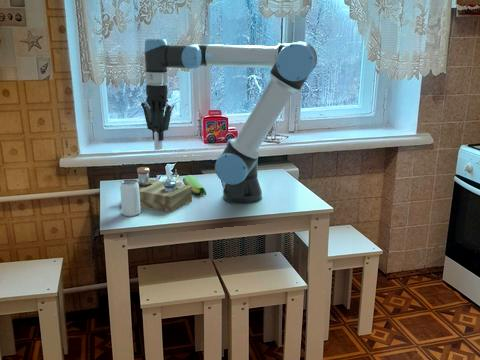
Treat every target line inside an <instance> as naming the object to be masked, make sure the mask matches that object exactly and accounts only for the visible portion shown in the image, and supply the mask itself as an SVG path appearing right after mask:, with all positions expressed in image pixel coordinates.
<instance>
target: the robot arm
mask: <svg viewBox="0 0 480 360" xmlns="http://www.w3.org/2000/svg"><path fill="white" fill-rule="evenodd" d="M143 53H144V65H145V66H144V67H145V83H146V85H145V93H146V99H145V101H143V102H141V103H140V107H141V109H143V110H142V111H143V114H144V118H145V123H146V127H147V130H150V131H151V132H152V140H153V141H154V142H153V143H154V150H155V151H159V150H162V149H163V141H164V138H165V137H164V132H165V131H168V130H169V127H170V121H171V116H172V111H173V109H175V108H174V107H175V106H174V104H171V103H170V102H169V100H168V85H167V83H168V68H173V69H176V68H177V69H178V68H179V69H188V70H191V69H198V68H200V66H202V67H228V68H229V67H232V68H252V69H253V68H256V69H257V68H258V69H271V70H270V71H269V76H270V80H269V82H268V84H267V85H266V87H265V89H264V90H263V93H262V94H261V95H260V97H259V99H258V101H257V103H256V104H255V105H254V107H253V109H252V111H251V113H250V114H249V115H248V118H247V119H246V121H245V122H244V124H243V126H242V127H241V130H240V131H239V133H238V135H237V136H236V137H235V138H234V137H233V138H230V139H227V141H226V147H225V148H224V150H223V152H222V153H221V154H220V155H219V156H218V157H217V159H216V161H215V163H214V164H215V165H214V169H215V175H216V176H217V178H218V179H219V180H220V181H221V182H223V183H224V184H225V186H224V188H223V191H222V193H223V194H222V198H223V199H224V200H225V201H228V202H230V203H235V204H236V203H237V204H249V203H254V202H257V201H260V200H261V199H262V197H263V194H262V193H263V192H262V191H263V190H262V188H261V185H260V181H259V178H258V168H259V167H258V160H259V159H258V158H259V156H260V154H259V152H258V150H259V149H260V147H261V145H262V144H263V143H264V141H265V139H266V138H267V135H268V134H269V133H270V131H271V129H272V127H273V126H274V124H275V123H276V121H277V119H278V118H279V116H280V114H281V113H282V111H283V110H284V108H285V106H286V105H287V103H288V101H289V100H290V98H291V96H292V95H293V93H295V92H298V91H299V92H300V90H301V89H302V87H303V85H304V84H305V82H306V81H307V79H308V77H309V76H310V75H311V73H312V72H313V71H314V69H315V67H316V65H317V63H318V62H317V61H318V54H317V52H316V50H315V47H313V46H312V45H311V44H310V43H308V42H305V41H294V42H290V43H278V44H277V45H276V46H270V45H269V46H267V45H239V44H238V45H237V44H236V45H234V44H233V45H232V44H231V45H230V44H227V45H226V44H225V45H224V44H201V43H192V44H186V45H185V44H183V45H171V44H168V43H167V40H166V39H165V38H147V39H145V41H144V52H143Z"/></svg>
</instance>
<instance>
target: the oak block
mask: <svg viewBox="0 0 480 360" xmlns="http://www.w3.org/2000/svg"><path fill="white" fill-rule="evenodd" d="M164 182H165V181H161V180H155V179H150V178H149V185H150V186H148V187H146V188H144V187H139V195H140V208H141V207H142V208H146V209H152V210H156V211H161V212H166V213H172V212H173V213H174V212H175V211H176V210H178V209H180V208H182V207H184V206H186V205H188V204H190V203H191V202H193V192H192V186H188V185H185V184H181V183H176V186H175V189H176V190H175V191H173V192H168V191H165V187H164ZM137 183H138V184H139V180H137Z"/></svg>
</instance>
